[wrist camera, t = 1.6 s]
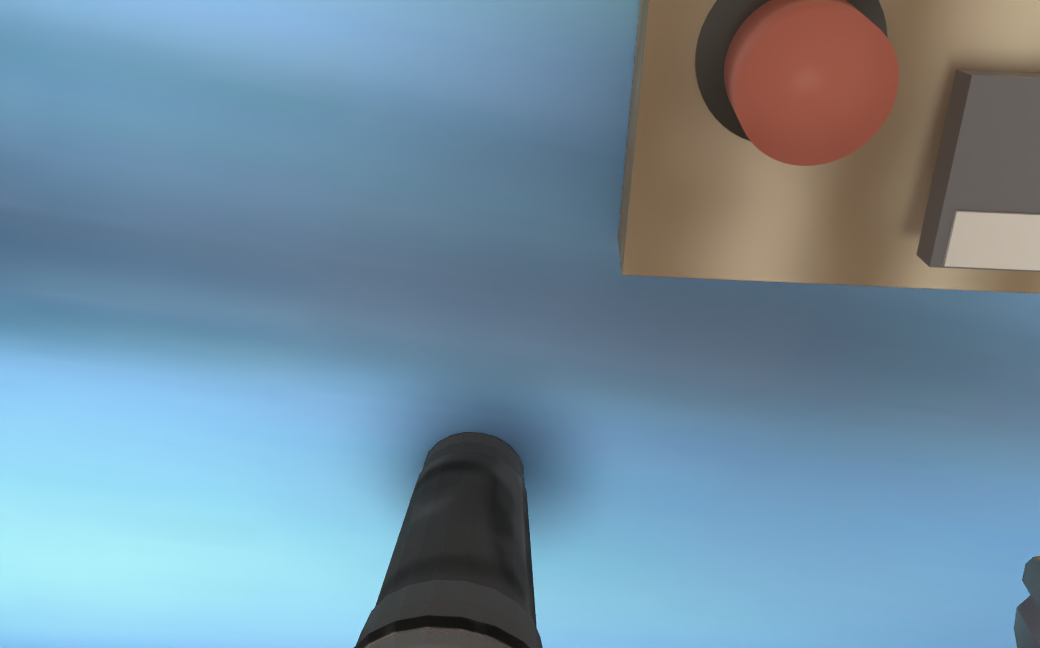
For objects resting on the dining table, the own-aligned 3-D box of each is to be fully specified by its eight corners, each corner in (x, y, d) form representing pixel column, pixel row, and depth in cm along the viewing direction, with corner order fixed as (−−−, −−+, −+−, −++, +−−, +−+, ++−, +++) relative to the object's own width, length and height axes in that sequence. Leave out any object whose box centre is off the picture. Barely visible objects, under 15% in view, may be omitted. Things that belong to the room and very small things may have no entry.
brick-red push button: (889, -7, 27) (916, 12, 25) (856, 139, 29) (878, 169, 27) (735, -13, 27) (749, 6, 25) (714, 134, 29) (725, 162, 27)
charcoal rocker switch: (1088, 74, 29) (1112, 81, 27) (1038, 260, 31) (1057, 274, 30) (956, 69, 29) (973, 75, 27) (916, 254, 31) (931, 268, 30)
